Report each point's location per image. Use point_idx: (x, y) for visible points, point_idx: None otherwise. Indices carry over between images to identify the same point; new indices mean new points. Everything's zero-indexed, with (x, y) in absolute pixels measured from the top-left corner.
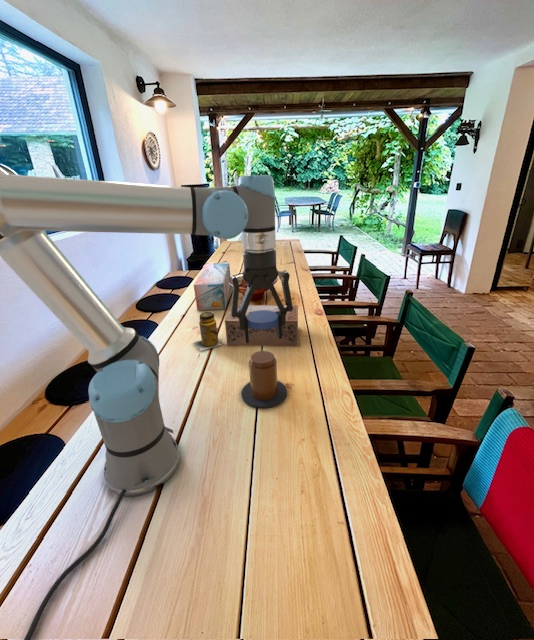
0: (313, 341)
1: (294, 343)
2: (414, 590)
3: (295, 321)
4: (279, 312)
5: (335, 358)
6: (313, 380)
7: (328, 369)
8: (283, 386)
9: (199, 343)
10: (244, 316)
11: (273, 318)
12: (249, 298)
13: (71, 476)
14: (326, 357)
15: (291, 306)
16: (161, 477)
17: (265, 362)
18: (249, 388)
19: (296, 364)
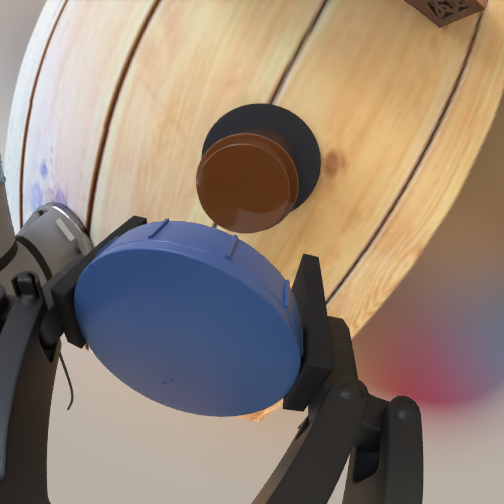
0: (480, 42)
1: (436, 19)
2: (267, 415)
3: (477, 3)
4: (317, 386)
5: (484, 137)
6: (396, 178)
7: (449, 162)
8: (315, 166)
9: None
10: (59, 352)
11: (238, 404)
12: (35, 463)
13: (16, 225)
14: (473, 119)
15: (373, 457)
16: None
17: (237, 231)
18: (229, 132)
19: (399, 92)
